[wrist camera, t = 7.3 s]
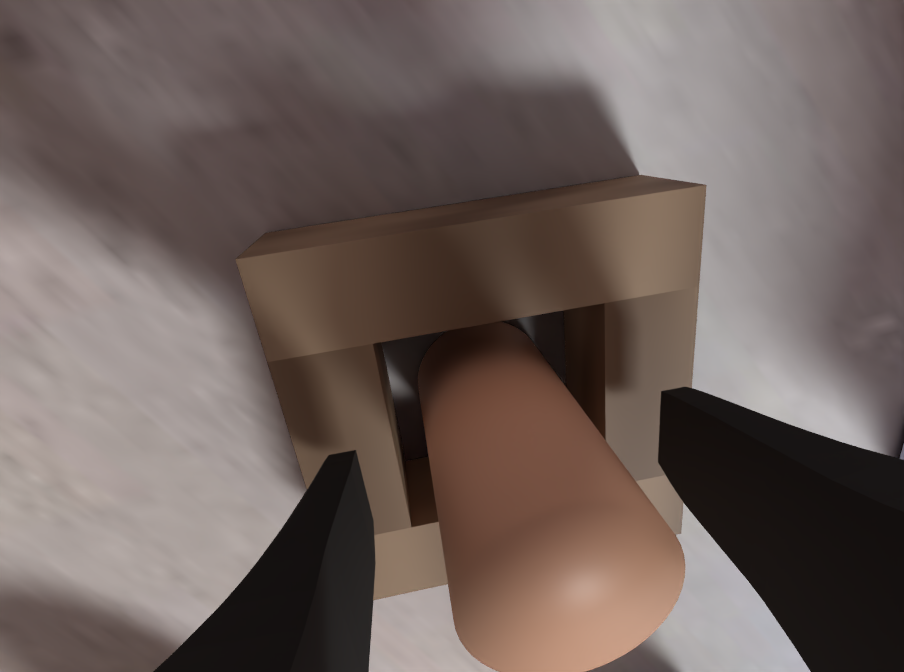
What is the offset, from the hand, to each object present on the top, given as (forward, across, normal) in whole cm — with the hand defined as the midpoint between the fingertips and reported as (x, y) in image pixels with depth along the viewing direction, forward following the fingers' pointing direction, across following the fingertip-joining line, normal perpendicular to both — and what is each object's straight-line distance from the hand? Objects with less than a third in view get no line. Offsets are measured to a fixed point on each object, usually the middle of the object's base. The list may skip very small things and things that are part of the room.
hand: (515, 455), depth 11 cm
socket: (+4, 0, 0) cm, 4 cm away
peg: (+4, 0, 0) cm, 4 cm away
